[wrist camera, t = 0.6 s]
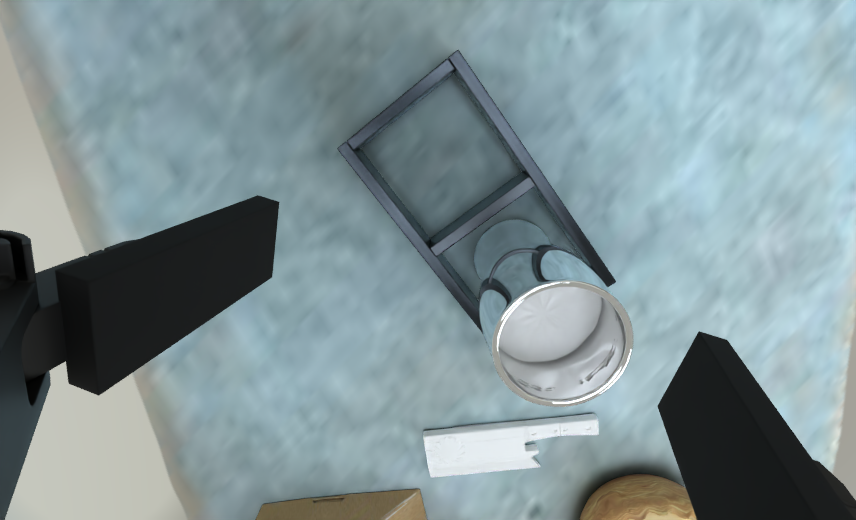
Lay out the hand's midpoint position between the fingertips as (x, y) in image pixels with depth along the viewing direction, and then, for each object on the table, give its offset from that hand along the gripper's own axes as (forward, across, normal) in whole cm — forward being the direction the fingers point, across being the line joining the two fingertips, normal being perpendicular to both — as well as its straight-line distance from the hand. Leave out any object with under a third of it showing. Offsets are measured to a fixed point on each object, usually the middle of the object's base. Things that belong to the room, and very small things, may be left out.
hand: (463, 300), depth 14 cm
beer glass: (+22, +2, -6) cm, 22 cm away
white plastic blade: (+20, +7, -23) cm, 31 cm away
